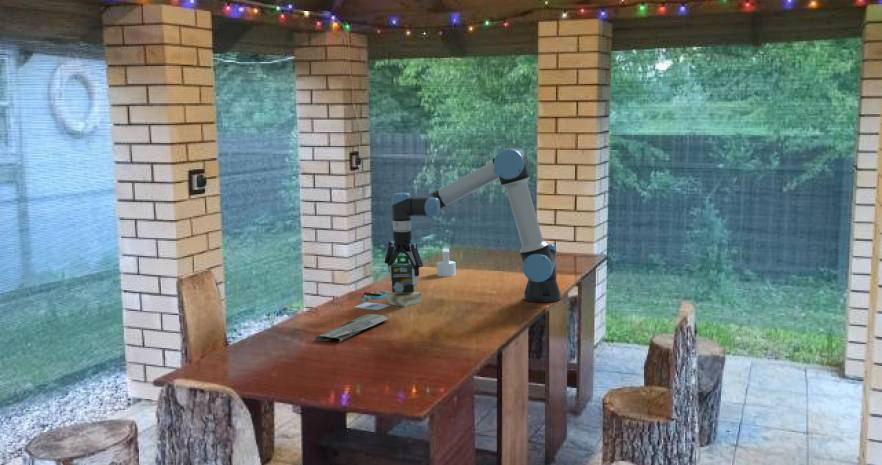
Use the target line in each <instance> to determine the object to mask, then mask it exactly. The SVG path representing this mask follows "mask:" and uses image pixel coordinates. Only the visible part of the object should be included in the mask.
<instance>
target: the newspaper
mask: <svg viewBox="0 0 882 465" xmlns="http://www.w3.org/2000/svg"><path fill="white" fill-rule="evenodd" d="M389 319H390V317H387V316H386V315H380V314H373V313H370V314H368V313H367V314H363V315H362V316H359V317H357V318H355V319H352V320H350V321H348V322H345V323H344V324H342V325H339V326H337V327H335V328H333V329H331V330H328V331H326V332H324V333H322V334H320V335H317V336H315V338H314V340H315V341H324V342H329V341H331V340H333V339H337V340H339V341H337V343H338V344H339V343H341V342H343V341H345V340H347V339H349V338H351V337H354V336H355V335H357V334H358V333H361V332H364V331H366V330H368V329H369V328H373V327H374V326H376V325H378V324H380V323H382V322H385V321H387V320H389Z"/></svg>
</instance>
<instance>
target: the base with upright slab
mask: <svg viewBox="0 0 882 465" xmlns="http://www.w3.org/2000/svg"><path fill="white" fill-rule="evenodd" d="M456 265H457V264H456V261H453V260H450V248H442V261H438V262H436V275H437V277H442V276H443V277H444V278H445V277H454V276H456V275H457V270H456V268H457V267H456Z"/></svg>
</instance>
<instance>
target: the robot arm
mask: <svg viewBox="0 0 882 465" xmlns="http://www.w3.org/2000/svg"><path fill="white" fill-rule="evenodd" d="M530 178H531V177H530V174H529V170H528V156H527V153H526V152H525V151H524V150H523V149H521V148H520V147H518V146H509V147H505V148H503V149H501V150H500V151H498V153H497V154H496V156H494V157H493V158H491V161H490V162H489V163H487V164H485V165H482V167H479V168H478V169H475V170H474V171H472V172H469V173H467V174H466V175H465V176H462V177H461V178H458V179H456V180H455V181H453V182H451V183H449V184H447V185H445V186H443V187H441V188H439V189H438V190H435V191H433V192H431V193H429V194H427V195H426V196H423V197H411V194H410V192H395V193H393V194H392V195H391V213H392V215H391V216H392V230H393V231H392V240H391V241H388V244H387V246H388V247H387V251H386V255H385V258H384V260H383V261H384V262H383V263H384V264H386V265H387V266H388V268H387V269H388V274H389V281H390V282H392V277H391V266H392V264H393V263H394V262H396V261H397V256H400V254H403V255H404V256H407V257H408V259H409V261H410V262H411V264H412V266H413V269H412V281H413V285H414V284H419V277H420V268H422V267H423V266H424V264H423V261H422V258H421V256H420V253H419V250H418V243H412V242H411V240H412V238H413V236H412V231H411V230H412V217H437V216H439V215H440V212H441V209H443V208H445V207H447V206H448V205H451V204H453V203H455V202H457V201H459V200H460V199H463V198H465V197H466V196H468V195H470V194H472V193H474V192H476V191H478V190H480V189H482V188H484V187H486V186H488V185H490V184H492V183H494V182H496V181H498V180H499V182H500V185H501V187H503V188H505V190H506V193H507V196H508V197H507V198H508V200H509V204H510V207H511V211H512V215H513V218H514V222H515V225H516V230H517V232H518V233H517V234H518V236H519V239H520V244H521V248H520V250H519V253H520V258H521V261H522V271H523V272H522V273H523V274H524V276H525V277H526V278H527V284H526V286H525V290H524V293H523V298H524V300H525V301H528V302H533V303H552V302H553V303H554V302H557V301H559V300H561V299H562V298H561V297H562V296H561V295H562V294H561V290H560V287H559V283H558V281H557V246H556V244H553V243H547V242H546V241H544V239H543V234H542V232H541V228H540V224H539V221H538V217H537V213H536V210H535V207H534V206H535V205H534V202H533V200H532V196H531V192H530V188H529V184H528V182H529V180H530Z"/></svg>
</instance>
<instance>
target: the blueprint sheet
mask: <svg viewBox="0 0 882 465" xmlns="http://www.w3.org/2000/svg"><path fill="white" fill-rule="evenodd" d="M390 306H391V304H385V303H376V302H375V303H373V302H366V301H365V302H363V303H360V304H358V305H356V306H353V308H355V309H362V310H372V311H379V310H382V309H385V308H387V307H390Z"/></svg>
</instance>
